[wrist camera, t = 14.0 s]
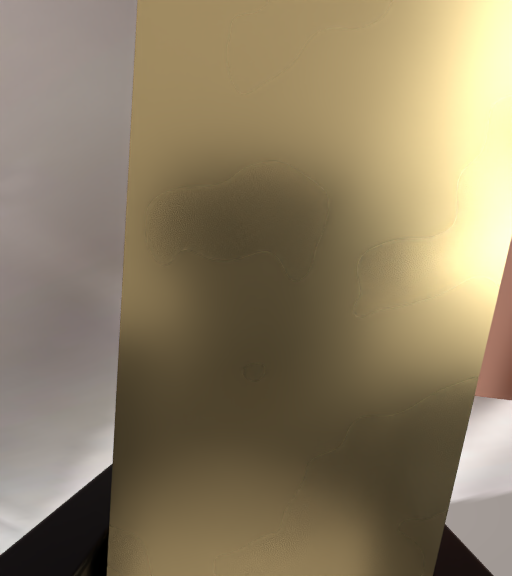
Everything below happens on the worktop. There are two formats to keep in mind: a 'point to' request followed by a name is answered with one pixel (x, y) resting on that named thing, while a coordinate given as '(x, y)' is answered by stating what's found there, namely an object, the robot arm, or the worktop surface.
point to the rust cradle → (499, 343)
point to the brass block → (306, 280)
